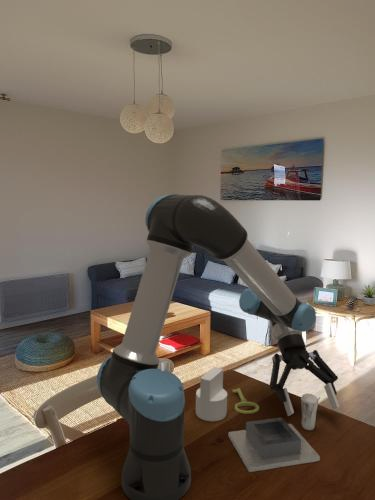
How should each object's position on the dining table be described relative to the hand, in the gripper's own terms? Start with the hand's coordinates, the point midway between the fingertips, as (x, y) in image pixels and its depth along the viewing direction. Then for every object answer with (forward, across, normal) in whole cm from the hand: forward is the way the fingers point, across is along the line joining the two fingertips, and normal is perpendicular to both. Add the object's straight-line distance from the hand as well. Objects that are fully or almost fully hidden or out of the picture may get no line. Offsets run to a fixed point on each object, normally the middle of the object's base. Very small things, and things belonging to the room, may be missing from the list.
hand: (313, 411), depth 107 cm
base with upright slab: (-6, +24, -14) cm, 29 cm away
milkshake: (+3, 0, -5) cm, 6 cm away
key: (-8, +13, -16) cm, 22 cm away
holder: (+7, +14, 0) cm, 16 cm away
